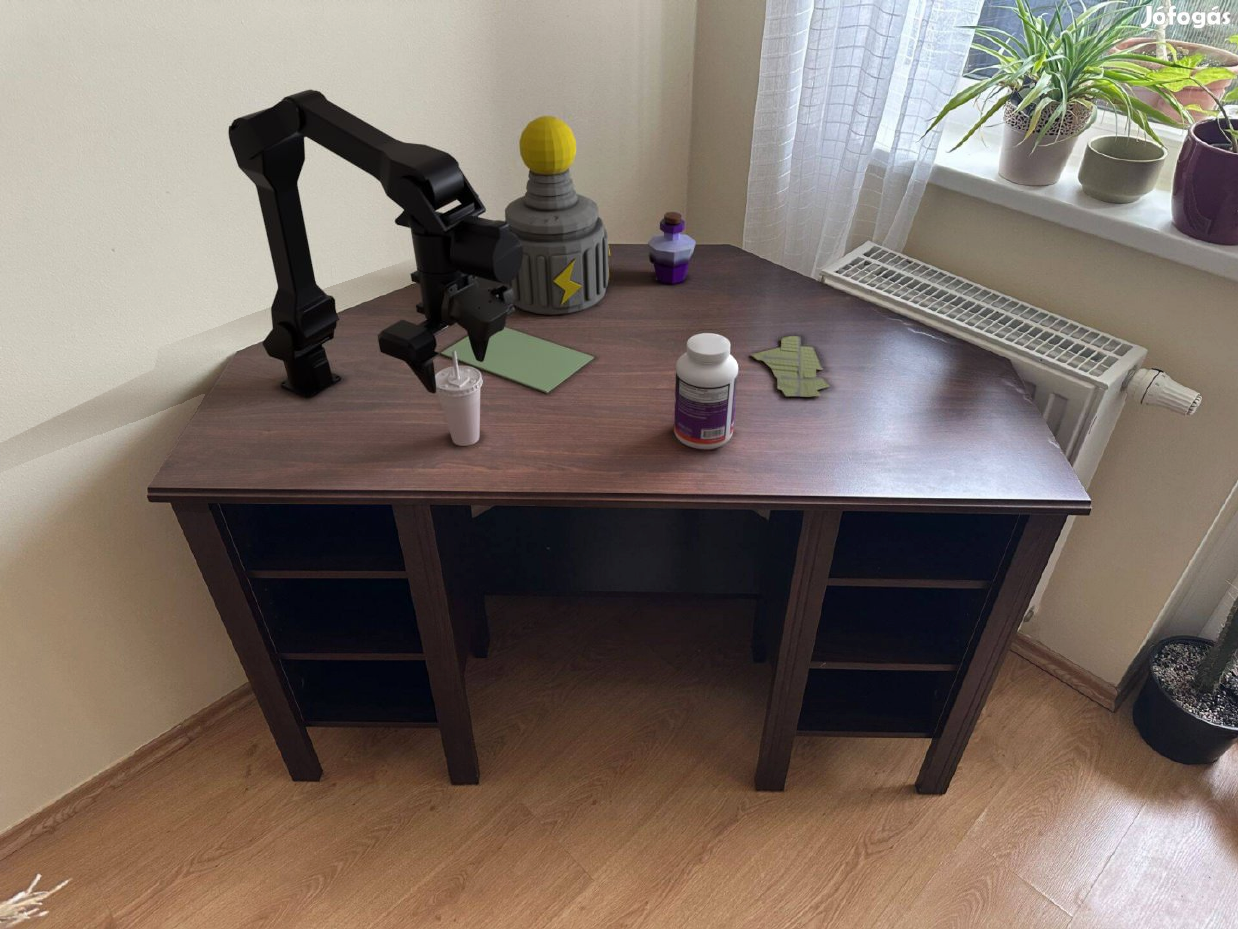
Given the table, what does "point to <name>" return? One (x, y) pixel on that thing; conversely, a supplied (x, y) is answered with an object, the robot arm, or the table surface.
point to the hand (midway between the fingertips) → (456, 376)
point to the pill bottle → (705, 392)
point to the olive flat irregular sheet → (794, 367)
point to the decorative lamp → (556, 228)
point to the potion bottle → (671, 250)
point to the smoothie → (460, 401)
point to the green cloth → (523, 359)
